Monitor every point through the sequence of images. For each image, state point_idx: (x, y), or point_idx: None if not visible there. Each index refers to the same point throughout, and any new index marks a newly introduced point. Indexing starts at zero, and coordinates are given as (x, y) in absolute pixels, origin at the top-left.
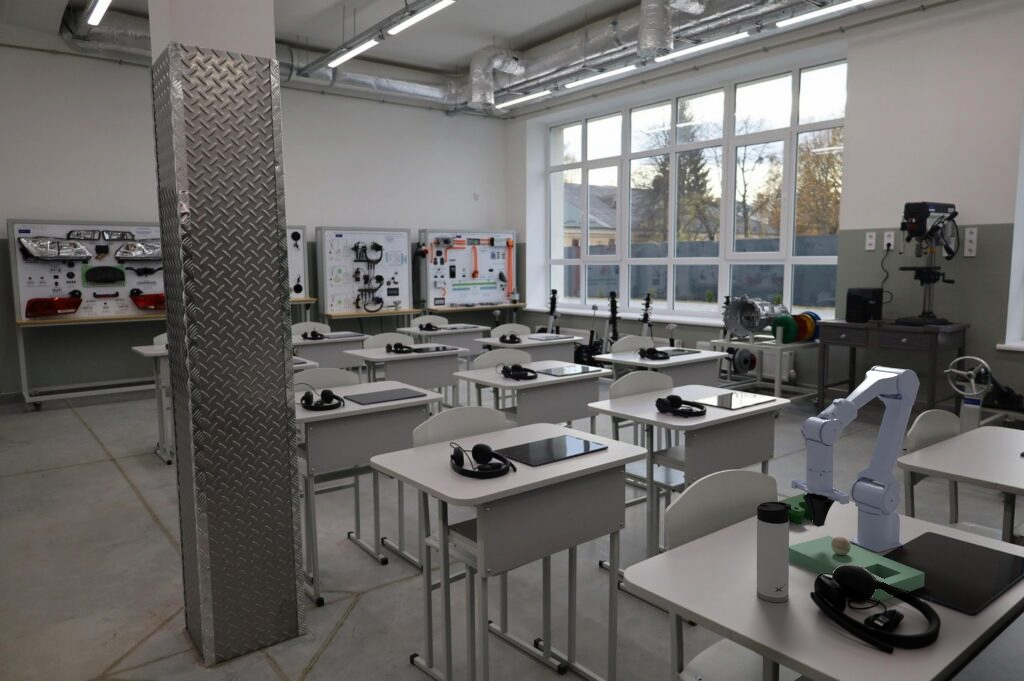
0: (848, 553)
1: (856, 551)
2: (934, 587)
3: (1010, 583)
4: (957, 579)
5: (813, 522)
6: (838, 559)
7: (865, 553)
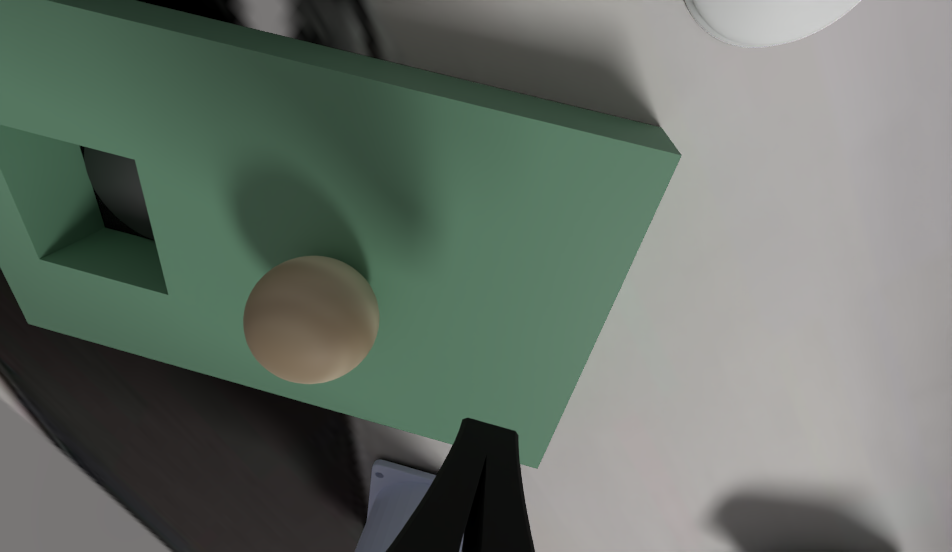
0: None
1: None
2: None
3: (61, 445)
4: (114, 400)
5: (507, 450)
6: (295, 203)
7: None
